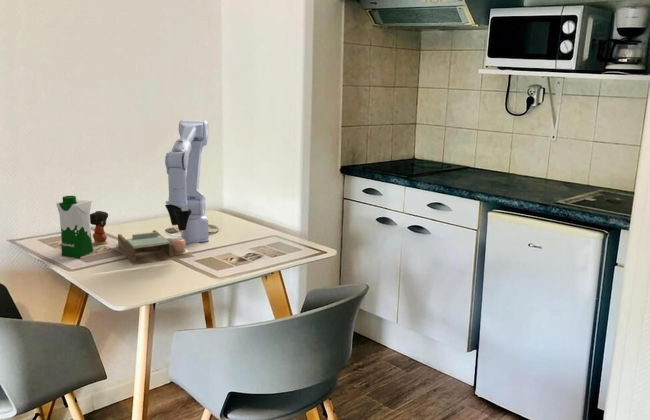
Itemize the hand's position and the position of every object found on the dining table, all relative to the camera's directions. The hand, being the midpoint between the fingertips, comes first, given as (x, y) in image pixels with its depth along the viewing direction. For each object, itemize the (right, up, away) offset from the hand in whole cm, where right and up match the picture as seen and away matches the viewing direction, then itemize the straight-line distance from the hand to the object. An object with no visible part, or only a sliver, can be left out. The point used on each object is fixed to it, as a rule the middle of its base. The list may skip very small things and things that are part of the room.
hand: (178, 227), depth 199 cm
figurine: (-30, -6, +10) cm, 32 cm away
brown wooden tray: (-9, -8, +3) cm, 13 cm away
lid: (-9, -5, -3) cm, 11 cm away
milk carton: (-33, -9, -2) cm, 34 cm away
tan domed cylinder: (-1, -8, +2) cm, 8 cm away
